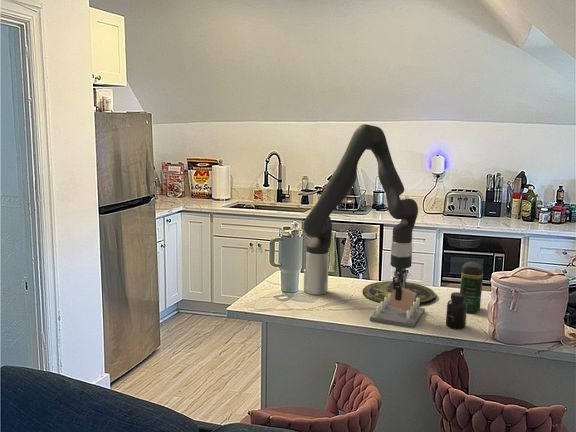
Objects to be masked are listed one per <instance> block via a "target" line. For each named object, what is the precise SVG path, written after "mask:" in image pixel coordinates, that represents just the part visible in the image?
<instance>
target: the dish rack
mask: <svg viewBox="0 0 576 432" xmlns="http://www.w3.org/2000/svg"><path fill="white" fill-rule="evenodd" d="M390 299H391V294H388V298H384V302H383V301H381V304H380V305H376V309H375V311H374V312H373V313H372V314H371V316H369V321H370V322H373V323H380V324H387V325H392V326H398V327H403V328H404V327H405V328H411V329H414V328H415V327H416V325H417V324H418V323H419V321H420V319H421V318H422V317H423V315H424V314H425V313H426V307H421V306H419V303H420V298H417V299H416V302H413V306H410V310H407V311H405V310H403V309H401V308H398V307H396V306H394V305H391V304H389V301H390ZM387 301H388V302H387Z"/></svg>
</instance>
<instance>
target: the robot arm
mask: <svg viewBox="0 0 576 432" xmlns="http://www.w3.org/2000/svg"><path fill="white" fill-rule="evenodd" d="M366 150H369V151H371V152H372V154H373V155H374V157H375V159H376V162H377V166H378V167H377V170H378V171H377V174H378V175H377V176H378V179H379V180H378V181H379V183H380V184H381V187H382V189H383V191H384V193H385V196H386V203H387V209H388V212H389V215H390V216H391V218H393V219H395V220H400V222H398V224H396V225H394V226H393V228H392V241H391V246H390V247H391V248H390V266H391V267H393V268H395V270H394V272H393V276H392V281H393V286H394V290H396V293H395V300H398V301H401V298H402V287H403V288H405V285H406V282H407V278H408V273H409V271H408V269H409V268H411V267H412V263H413V262H412V260H413V230H414V227H415V225H416V221H417V218H418V215H419V207H418V204H417V202H416V200H415V199H413V198H403V199H401V196H402V194H403V193H404V192H405V186H404V184H403V182H402V180H401V178H400V176H399V174H398V172H397V171H398V170H396V167H395V164H394V162H393V159H392V155H391V152H390V149H389V145H388V142H387V137H386V134H385V132H384V130H383V129H382V128H381V127H379V126H377V125H372V124H360V125H358V126H357V128H356V129H355V130H354V132H353V134H352V136H351V138H350V140H349V142H348V144H347V147H346V149H345V152H344V153H343V156H342V157H341V159H340V161H339V163H338V165H337V167H336V169H334V171H333V173H332V174H331V176H330V178H329V180H328V182H327V183H326V186H325V187H324V189H323V191H322V193H321V195H320V196H319V198H318V201H317V202H316V204H315V205H314V206H313V208H312V209H311V210H310V212H308V214H307V216H306V217H305V218H304V221H303V230H304V232H305V234H306V235H307V236H308V237H310V240H309V241H308V243H307V244H306V256H305V257H306V258H305V261H306V262H305V269H304V270H303V292H304V293H307V294H309V295H314V296H317V295H318V296H319V295H325V294H327V293H328V290H329V289H328V287H329V262H330V261H329V256H330V253H329V252H330V247H331V244H332V236H333V235H332V234H333V223H332V221H333V220H332V218H331V216H330V215H331V213H333V211H334V210H335V209H336V208H337V207H338V206H339V205H340V204H341V203H342V202H343V201H344V200H345V199H346V197H348V195H349V194H350V192H351V190H352V188H353V187H354V185H355V183H356V181H357V177H358V176H357V175H358V174H357V173H358V165H359V161H360V159H361V157H362V156H363V155H364V153H365V151H366ZM397 286H399V287H397Z"/></svg>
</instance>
